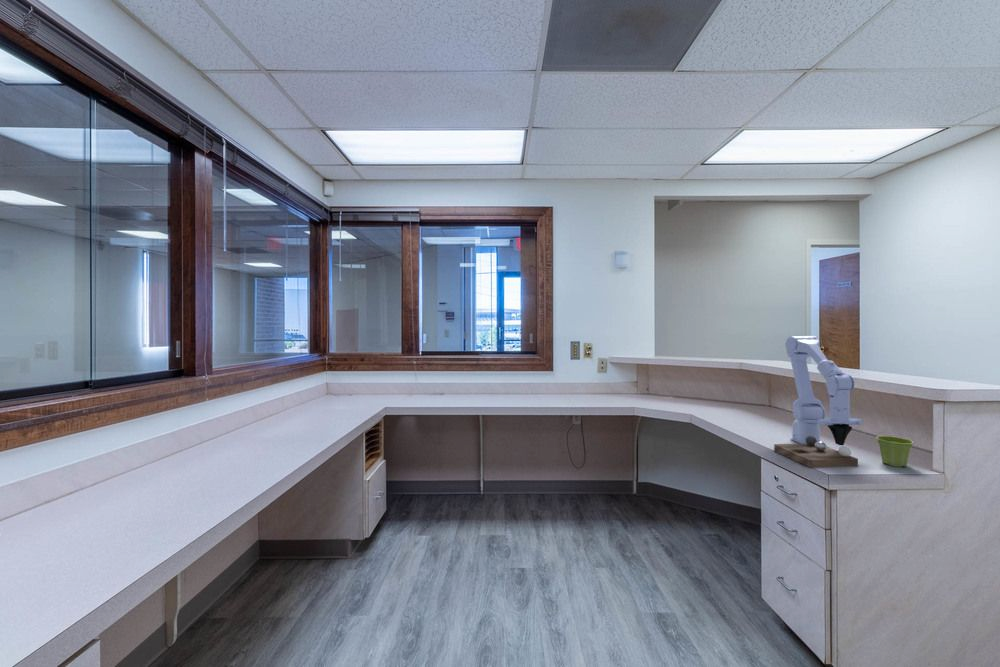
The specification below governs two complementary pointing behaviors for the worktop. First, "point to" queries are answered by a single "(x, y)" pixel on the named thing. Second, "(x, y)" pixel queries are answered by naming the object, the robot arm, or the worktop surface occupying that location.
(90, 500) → the worktop surface
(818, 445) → the steel ball
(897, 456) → the plant pot
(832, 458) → the board
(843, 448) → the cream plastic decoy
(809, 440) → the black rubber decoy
